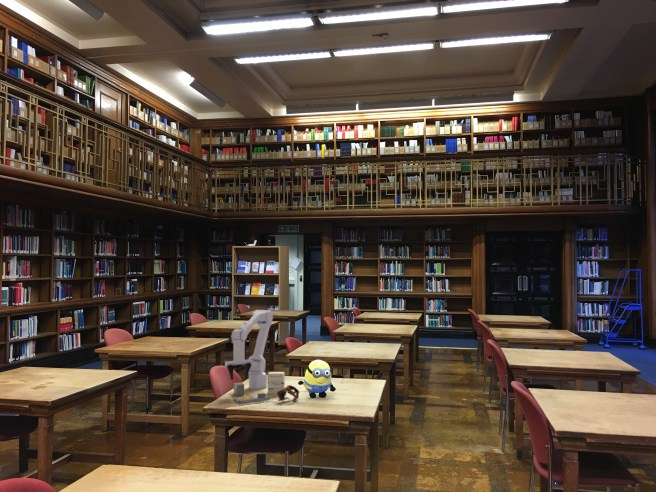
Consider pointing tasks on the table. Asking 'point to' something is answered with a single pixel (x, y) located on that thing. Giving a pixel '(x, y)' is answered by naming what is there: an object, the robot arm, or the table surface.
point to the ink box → (275, 382)
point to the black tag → (261, 395)
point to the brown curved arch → (289, 390)
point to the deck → (238, 396)
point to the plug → (239, 389)
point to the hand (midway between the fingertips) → (238, 378)
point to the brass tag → (246, 397)
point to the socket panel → (252, 399)
